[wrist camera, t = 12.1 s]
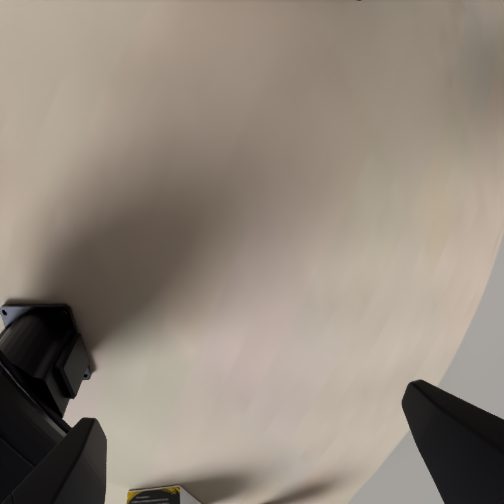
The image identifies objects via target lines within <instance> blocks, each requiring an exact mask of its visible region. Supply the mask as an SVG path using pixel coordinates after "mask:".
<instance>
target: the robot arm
mask: <svg viewBox="0 0 504 504" xmlns="http://www.w3.org/2000/svg"><path fill="white" fill-rule="evenodd" d="M63 310H65V311H66V312H67V313H64V312H63ZM5 311H6V312H7V313H6V312H5ZM0 314H1V317H2V320H3V322H4V325H5V329H4V330H3V331H2V332H1V334H0V504H104V503H105V494H106V456H107V439H106V436H105V434H104V432H103V430H102V428H101V426H100V424H99V422H98V420H97V419H96V418H86V417H85V418H82V419H81V420H80V421H79V422H78V423H77V424H76V425H75V426H74V427H73V428H71V427H70V426H69V425H68V424H67V423H66V422H65V421H64V420H63V419H62V418H63V416H64V413H65V410H66V408H67V405H68V402H69V400H70V399H74V398H75V397H76V395H77V393H78V390H79V387H80V385H81V382H82V380H89V379H90V377H91V375H92V372H91V369H90V366H89V358H88V355H87V352H86V349H85V346H84V343H83V340H82V337H81V334H80V333H79V332H78V330H77V327H76V324H75V320H74V317H73V313H72V310H71V308H70V307H69V306H68V305H67V304H4V305H3V306H2V307H1V308H0ZM85 373H86V374H85ZM402 408H403V411H404V414H405V416H406V419H407V421H408V424H409V427H410V430H411V432H412V435H413V438H414V440H415V443H416V445H417V447H418V449H419V452H420V453H421V456H422V458H423V459H424V462H425V464H426V466H427V468H428V470H429V472H430V474H431V476H432V478H433V480H434V482H435V484H436V486H437V489H438V491H439V493H440V495H441V497H442V499H443V501H444V503H445V504H504V419H501V418H499V417H497V416H495V415H493V414H491V413H489V412H486V411H485V410H482V409H480V408H478V407H476V406H474V405H472V404H470V403H468V402H466V401H464V400H462V399H460V398H458V397H456V396H454V395H452V394H449V393H447V392H445V391H444V390H442V389H440V388H438V387H436V386H434V385H432V384H430V383H428V382H426V381H424V380H416V381H412V382H410V383H409V384H408V386H407V388H406V391H405V394H404V396H403V399H402Z"/></svg>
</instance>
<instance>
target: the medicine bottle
mask: <svg viewBox="0 0 504 504" xmlns="http://www.w3.org/2000/svg"><path fill="white" fill-rule="evenodd" d="M127 504H201V503H200V502H199V501H197V500H196V499H195V498H194V497H192V496H191V495H190V494H189V493H188V492H187V491H185V490H184V489H183V488H182V487H181V486H179V485H175V486H168V487H160V488H152V489H143V490H132V491H128V495H127Z"/></svg>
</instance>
